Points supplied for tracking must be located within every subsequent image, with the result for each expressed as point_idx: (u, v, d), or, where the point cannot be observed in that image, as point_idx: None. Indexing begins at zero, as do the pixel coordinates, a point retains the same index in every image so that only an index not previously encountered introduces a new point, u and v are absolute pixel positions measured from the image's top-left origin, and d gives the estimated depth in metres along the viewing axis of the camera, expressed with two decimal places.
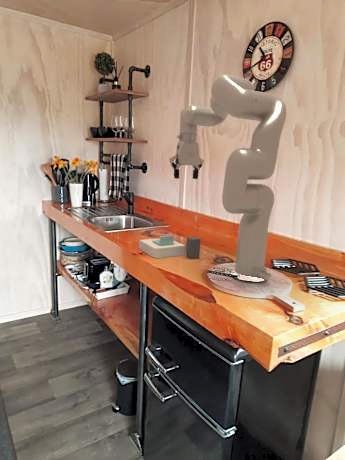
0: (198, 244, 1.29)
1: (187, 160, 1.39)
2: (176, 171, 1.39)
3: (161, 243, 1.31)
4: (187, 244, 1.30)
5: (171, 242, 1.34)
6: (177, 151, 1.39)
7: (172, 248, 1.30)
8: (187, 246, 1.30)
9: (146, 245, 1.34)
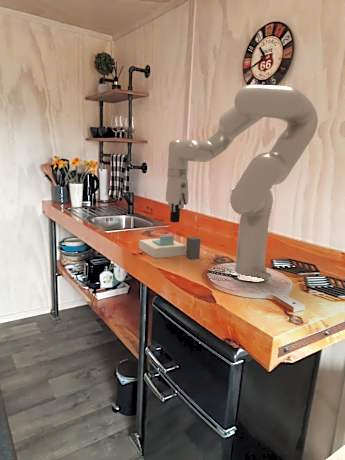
0: (198, 244, 1.29)
1: None
2: None
3: (161, 243, 1.31)
4: (187, 244, 1.30)
5: (171, 242, 1.34)
6: (182, 190, 1.19)
7: (172, 248, 1.30)
8: (187, 246, 1.30)
9: (146, 245, 1.34)
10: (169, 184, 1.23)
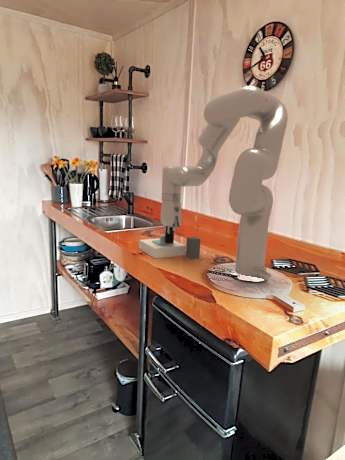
0: (198, 244, 1.29)
1: None
2: None
3: (161, 243, 1.32)
4: (187, 244, 1.30)
5: None
6: (176, 213, 1.24)
7: (172, 248, 1.30)
8: (187, 246, 1.30)
9: (146, 245, 1.34)
10: (163, 207, 1.28)
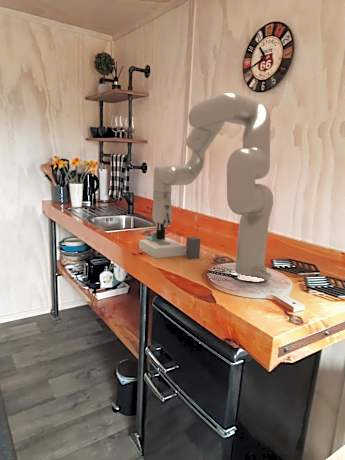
0: (198, 244, 1.29)
1: None
2: (163, 232, 1.37)
3: (153, 239, 1.38)
4: (187, 244, 1.30)
5: None
6: (166, 210, 1.31)
7: (172, 248, 1.30)
8: (187, 246, 1.30)
9: (146, 245, 1.34)
10: (155, 205, 1.35)
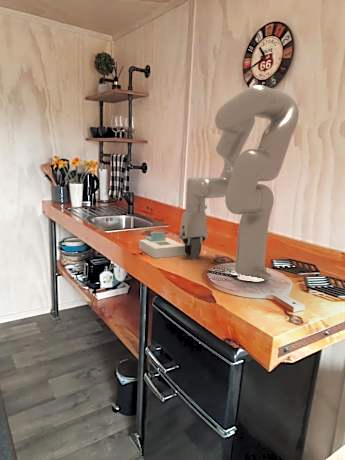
0: (198, 244, 1.29)
1: None
2: None
3: (153, 239, 1.38)
4: None
5: (163, 238, 1.41)
6: None
7: (172, 248, 1.30)
8: None
9: (146, 245, 1.34)
10: (195, 219, 1.25)
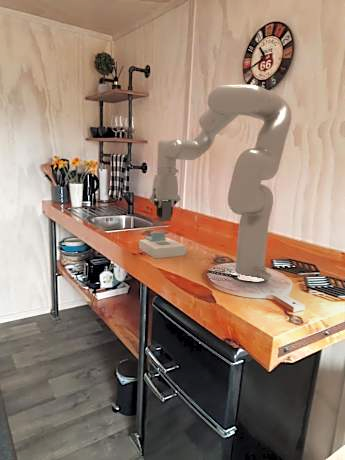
0: (169, 207, 1.32)
1: None
2: None
3: (153, 239, 1.38)
4: None
5: (163, 238, 1.41)
6: None
7: (172, 248, 1.30)
8: None
9: (146, 245, 1.34)
10: (165, 182, 1.28)
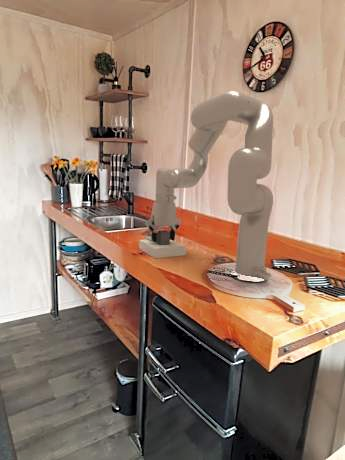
0: (168, 237, 1.34)
1: None
2: None
3: None
4: (157, 237, 1.35)
5: None
6: None
7: (172, 248, 1.30)
8: (157, 239, 1.36)
9: (146, 245, 1.34)
10: (164, 209, 1.30)
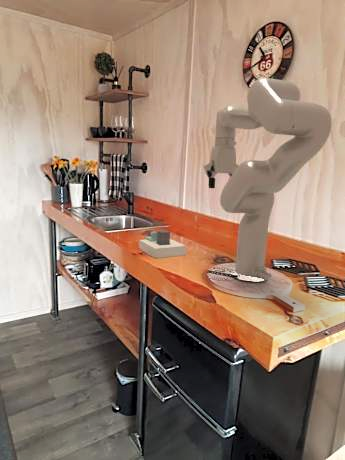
0: (168, 237, 1.34)
1: None
2: None
3: (153, 239, 1.38)
4: (157, 237, 1.35)
5: None
6: None
7: (172, 248, 1.30)
8: (157, 239, 1.36)
9: (146, 245, 1.34)
10: (225, 154, 1.23)
